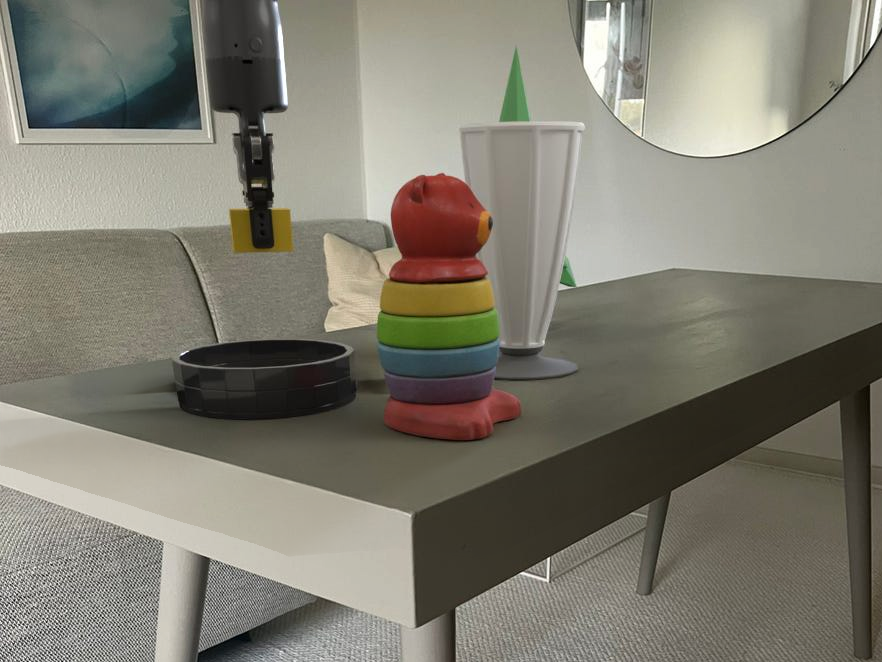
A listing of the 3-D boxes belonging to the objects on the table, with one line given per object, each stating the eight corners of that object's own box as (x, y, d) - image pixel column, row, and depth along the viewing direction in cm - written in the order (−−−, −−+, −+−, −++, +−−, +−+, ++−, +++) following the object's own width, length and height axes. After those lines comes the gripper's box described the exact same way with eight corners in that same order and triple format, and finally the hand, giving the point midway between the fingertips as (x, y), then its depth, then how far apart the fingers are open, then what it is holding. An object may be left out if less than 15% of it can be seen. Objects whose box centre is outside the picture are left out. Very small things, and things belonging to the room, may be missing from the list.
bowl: (177, 424, 78) (169, 373, 76) (181, 388, 92) (175, 343, 90) (367, 412, 81) (364, 362, 80) (344, 378, 95) (341, 335, 93)
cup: (592, 377, 94) (602, 120, 84) (473, 383, 92) (470, 121, 83) (561, 356, 104) (567, 126, 95) (454, 361, 102) (448, 126, 93)
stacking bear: (480, 443, 72) (477, 172, 64) (356, 433, 75) (339, 174, 67) (528, 412, 81) (530, 171, 73) (415, 403, 84) (406, 173, 76)
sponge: (234, 252, 101) (229, 210, 99) (233, 250, 104) (228, 208, 103) (293, 251, 102) (290, 209, 100) (290, 248, 106) (287, 208, 104)
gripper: (205, 63, 101) (224, 243, 108) (205, 47, 89) (227, 252, 96) (279, 64, 103) (293, 242, 110) (289, 49, 90) (304, 250, 98)
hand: (262, 245), depth 103 cm, fingers closed on sponge, 4 cm apart
